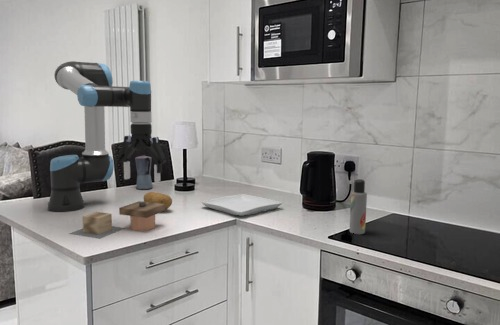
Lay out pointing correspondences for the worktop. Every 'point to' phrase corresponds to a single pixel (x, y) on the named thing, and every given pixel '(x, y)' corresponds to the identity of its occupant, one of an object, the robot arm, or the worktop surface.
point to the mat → (81, 233)
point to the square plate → (241, 204)
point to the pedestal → (97, 223)
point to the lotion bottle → (358, 208)
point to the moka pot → (143, 172)
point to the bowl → (142, 223)
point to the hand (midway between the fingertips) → (142, 180)
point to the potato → (158, 199)
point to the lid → (142, 209)
